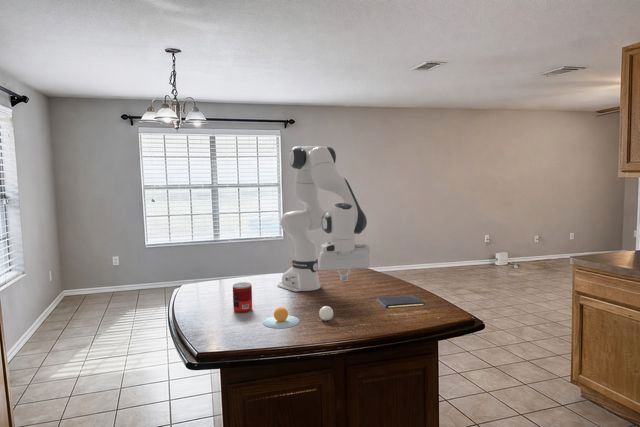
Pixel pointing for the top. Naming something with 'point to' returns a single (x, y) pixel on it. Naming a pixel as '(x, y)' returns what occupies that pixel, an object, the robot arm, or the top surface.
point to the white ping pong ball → (326, 313)
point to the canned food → (242, 297)
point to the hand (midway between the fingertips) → (344, 280)
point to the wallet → (400, 301)
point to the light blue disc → (287, 323)
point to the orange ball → (280, 314)
